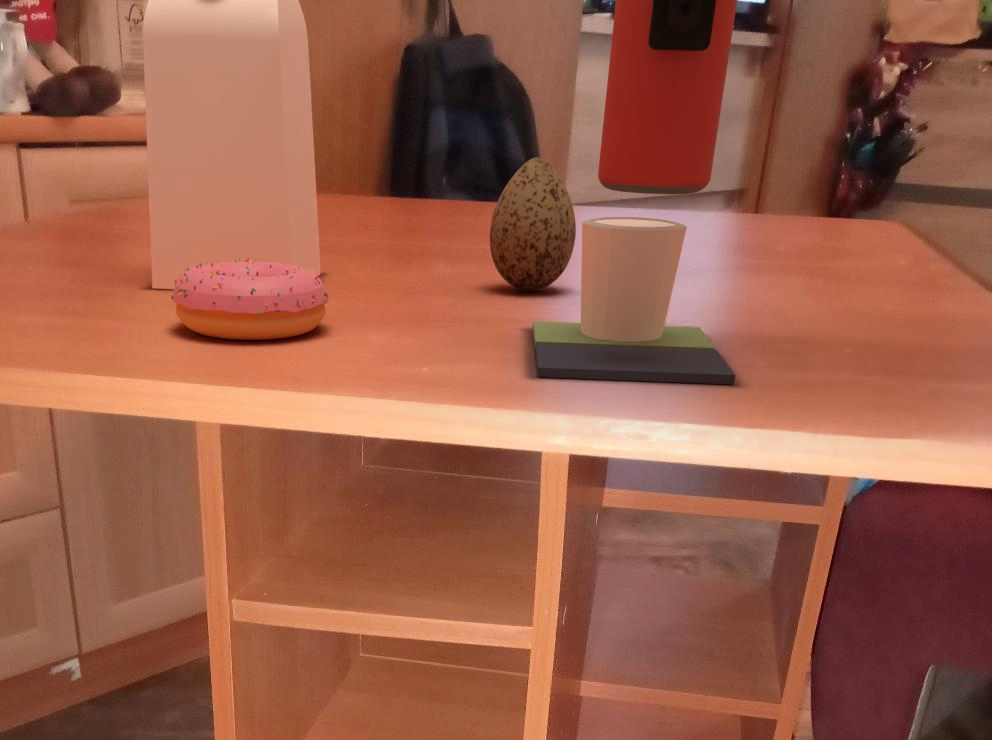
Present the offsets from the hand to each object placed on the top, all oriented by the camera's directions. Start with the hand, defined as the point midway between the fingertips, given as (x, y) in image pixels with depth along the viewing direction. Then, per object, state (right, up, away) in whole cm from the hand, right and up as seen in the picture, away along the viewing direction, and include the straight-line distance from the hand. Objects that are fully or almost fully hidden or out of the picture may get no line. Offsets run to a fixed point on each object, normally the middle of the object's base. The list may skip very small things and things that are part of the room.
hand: (670, 47), depth 64 cm
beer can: (0, -6, +4) cm, 7 cm away
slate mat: (0, -14, +9) cm, 17 cm away
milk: (-29, +3, +36) cm, 46 cm away
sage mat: (0, -10, +16) cm, 19 cm away
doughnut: (-26, -9, +18) cm, 32 cm away
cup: (0, -10, +16) cm, 19 cm away
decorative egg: (-4, +1, +34) cm, 34 cm away
